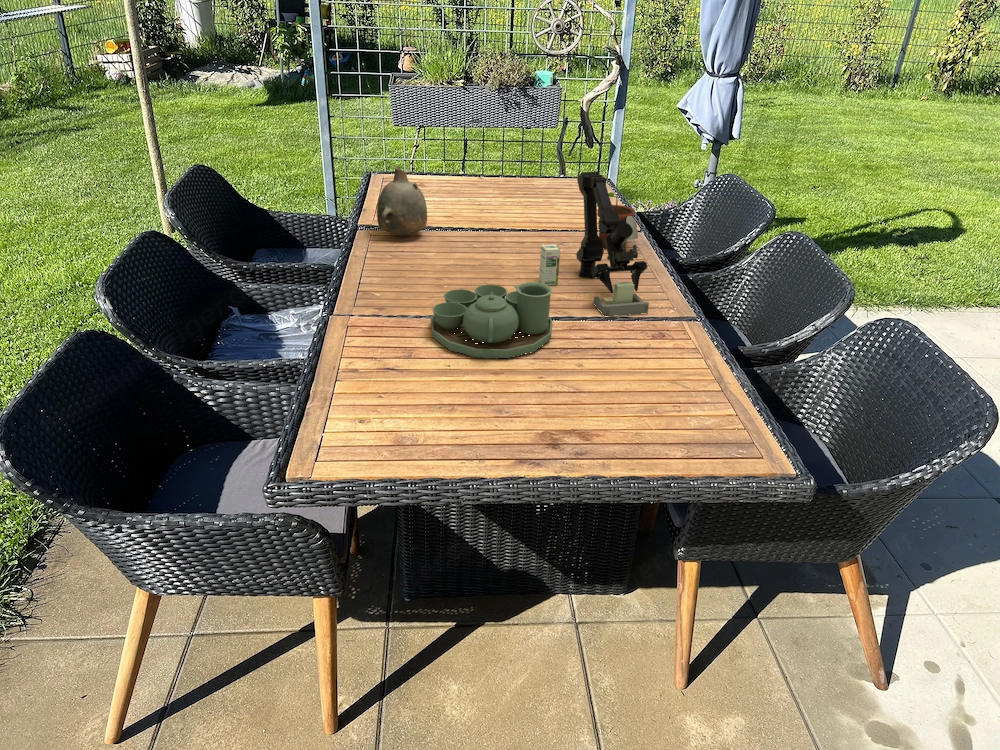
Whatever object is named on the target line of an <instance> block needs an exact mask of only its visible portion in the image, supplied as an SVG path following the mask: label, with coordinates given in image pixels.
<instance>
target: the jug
mask: <svg viewBox="0 0 1000 750" xmlns="http://www.w3.org/2000/svg"><path fill="white" fill-rule="evenodd" d="M393 175H394V176H393V179H392V181H390V182H389V183H387V184H385V186H384V187H383V189H382V190H381V193H380V195H379V197H378V200H377V205H376V219H377V224H378V227H379V228H380V229H382V231H384V232H388V233H392V234H395V235H397V236H400V237H405V236H408V235H411V234H416V233H419V232H421V231H423V230H424V229H425V228H426V226H427V223H428V209H427V202H426V197H425V196H424V194H423V192H422V190H421V188H420V187H419V185H418V183H417V182H411V181H410V180H409V179H408V175H407V172H406V171H405V170H403V169H401V168H400V167H399V165H395V166H394V174H393Z"/></svg>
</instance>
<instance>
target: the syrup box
mask: <svg viewBox="0 0 1000 750" xmlns="http://www.w3.org/2000/svg"><path fill="white" fill-rule="evenodd" d="M539 258H540V259H539V261H540V262H539V274H538V279H539V280H538V281H539V283H542V284H546V285H549V286H558V282H559V274H560V273H559V269H560V267H559V266H560V259H561V248H560V247H559V246H558V245H557V244H556V243H555V244H541V245H540V257H539Z"/></svg>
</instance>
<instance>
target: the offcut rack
mask: <svg viewBox="0 0 1000 750" xmlns="http://www.w3.org/2000/svg"><path fill="white" fill-rule="evenodd" d="M612 302H613V296H609V297H602V299H601V298H600V297H599V296H597V295H596V296H595V295H594V296H593V302H592V304H593V303H594V304H595V305H596V307H597V308H598V309H599V310H600V311H601V312H602V314H603V315H604V316H614V315H627V316H630V315H629V314H639V315H642V314H641V313H647V314H648V313H649V311H648V310H649V305H650V303H649V301H645V300H643V299H642V298H641V297H640V296H638V294H637V293H634V292H633V299H632V303H623V304H612ZM596 307H595V308H596ZM597 308H596V309H597ZM598 309H597V310H598ZM599 310H598V311H599ZM600 311H599V312H600ZM602 314H601V315H602ZM603 315H602V316H603ZM604 316H603V317H604Z"/></svg>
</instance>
